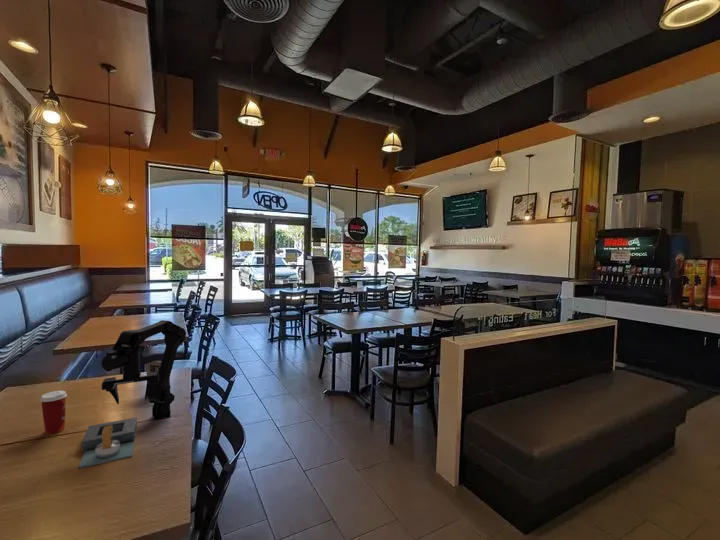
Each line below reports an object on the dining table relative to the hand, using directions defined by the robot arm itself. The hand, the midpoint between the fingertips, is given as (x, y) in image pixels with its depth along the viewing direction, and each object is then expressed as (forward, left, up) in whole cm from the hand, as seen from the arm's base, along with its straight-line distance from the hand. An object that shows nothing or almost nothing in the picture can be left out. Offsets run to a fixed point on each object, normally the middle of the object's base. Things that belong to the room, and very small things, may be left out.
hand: (132, 401), depth 142 cm
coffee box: (-8, -40, -13) cm, 43 cm away
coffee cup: (+28, -17, -13) cm, 35 cm away
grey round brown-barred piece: (+6, +13, -12) cm, 19 cm away
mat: (+6, +13, -13) cm, 20 cm away
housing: (+7, +1, -13) cm, 15 cm away
